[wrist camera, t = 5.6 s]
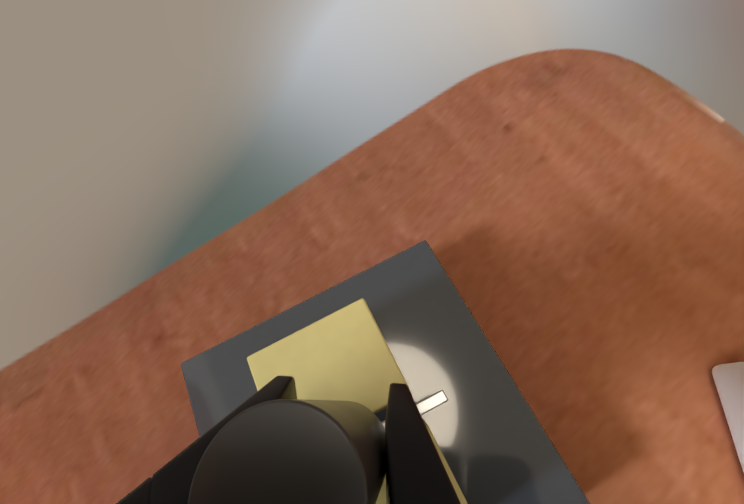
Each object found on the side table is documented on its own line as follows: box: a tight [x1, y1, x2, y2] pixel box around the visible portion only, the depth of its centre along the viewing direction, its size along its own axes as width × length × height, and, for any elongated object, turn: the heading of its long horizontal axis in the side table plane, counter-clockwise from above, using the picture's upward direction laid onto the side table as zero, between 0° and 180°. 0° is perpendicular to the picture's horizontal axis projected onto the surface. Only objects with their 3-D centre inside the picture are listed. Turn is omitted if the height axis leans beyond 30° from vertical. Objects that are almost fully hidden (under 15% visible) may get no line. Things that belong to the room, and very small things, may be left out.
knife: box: [188, 390, 448, 504], centre depth 8 cm, size 2×6×8 cm, turn 116°
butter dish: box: [181, 241, 590, 504], centre depth 15 cm, size 12×12×3 cm
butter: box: [247, 298, 468, 504], centre depth 13 cm, size 8×4×3 cm, turn 26°
